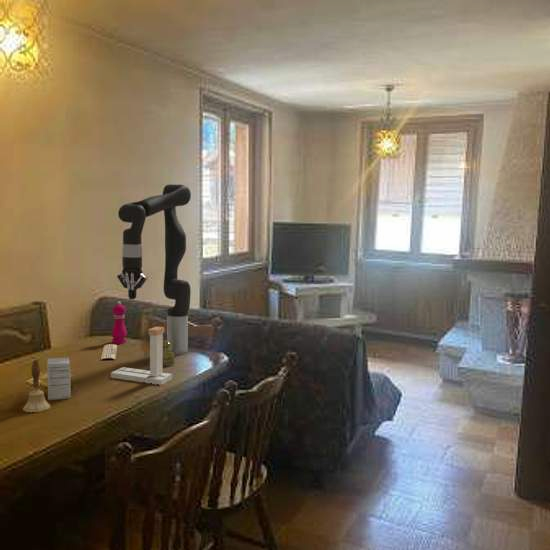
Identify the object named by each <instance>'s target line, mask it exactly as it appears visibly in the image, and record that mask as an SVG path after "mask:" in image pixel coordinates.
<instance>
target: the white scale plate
mask: <svg viewBox="0 0 550 550" xmlns="http://www.w3.org/2000/svg"><path fill="white" fill-rule="evenodd" d="M110 378H111V379H116V380H117V379H118V380H123V381H124V380H125V381H130V380H131V382H138V383H143V382H145V384H150V383H152V384H151V385H157V384H159V386H163V385H164V384H166V383H168V382H169V380H170V381H172V380H173V373H167V372H162V374H161V375H159V376H157V377H155V376H150V370H146V369H139V368H134V367H133V368H132V367H131V368H130V367H125V366H123V367H120V368H118V369H115V370H114V371H111V372H110ZM167 381H168V382H167ZM162 384H163V385H162Z"/></svg>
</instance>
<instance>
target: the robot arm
mask: <svg viewBox="0 0 550 550" xmlns="http://www.w3.org/2000/svg"><path fill="white" fill-rule="evenodd" d="M191 195H192V194H191V190H190V188H189V187H188V186H187V185H184V184H172V183H171V184H166V185H165V186H164V188H163V191H162V194H160V195H153V196H150V197H149V196H148V197H146V198H144V199H142V200H139V201H134V202H128V203H124V204H123V205H122V206H120V207H119V209H118V213H117V214H118V215H117V216H118V218H119V220H121V222H123V223H131V225H130V227H129V228H127V229H126V228H125V229H124V230H123V232H122V249H121V250H122V259H121V260H122V271H121V273H120V274H118V275H117V276H116V277H117V279H118V281H119V282H120V283H121V285H122V287H123V288H124V289H127V290H128V291H127V292H128V293H127V294H128V295H127V296H128V298H129V300H136V298H137V290H139V289H140V288H142V287H143V285H144V284H145V282H146V281H147V279H148V276H146V275H144V273H143V270H142V268H143V247H142V233H143V230H144V226H145V223H146V218H148V217H151V216H154V215H156V214H157V213H160V212H162V211H163V215H164V251H165V253H164V254H165V257H164V258H165V259H164V276H163V277H164V278H163V293H164V296H165V298H166V299H169V300H173V301H175V303H174V306H172V307H169V308H167V312H166V313H167V314H166V316H167V317H166V319H167V321H166V322H167V323H166V324H167V325H166V331H167V333H166V340H167V341H169V342H171V343H172V345H171V346H170V347H169V349H170V350H171V351H172V352H173V353H174V354H175V355H183V354H187V353H188V351H189V350H188V348H189V347H188V343H189V342H188V341H189V329H188V328H189V326H188V325H189V310H190V305H191V292H192V291H191V284H190V283H189V281H187V280H183V279H178V273H179V272H178V270H179V265H180V263H181V262H182V260H183V258H184V256H185V253H186V251H187V236H186V233H185V231H184V229H183V227H182V225H181V223H180V220H179V219H178V216H177V207H182V206H183V207H184V206H186V205H188V204H189V202H190V201H191V197H192V196H191Z"/></svg>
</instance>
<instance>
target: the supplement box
mask: <svg viewBox="0 0 550 550" xmlns="http://www.w3.org/2000/svg"><path fill="white" fill-rule="evenodd" d="M70 360H71V359H70V357H53V358H47V359H46V374H47V377H46V379H47V399H48V401H51V400H52V401H53V400H64V399H71V392H72V391H71V362H70Z"/></svg>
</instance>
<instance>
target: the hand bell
mask: <svg viewBox="0 0 550 550" xmlns="http://www.w3.org/2000/svg"><path fill="white" fill-rule="evenodd" d="M30 373H31V376H32V380H33V382H32V383H33V384H32V385H33V388H32V390H31V391H29V393H28V399H27V402H26V404H25V405H24V406H23V408H22V411H23V412H24V411H25V412H24V413H28V412H31V414H33V413H32V412H34V414H35V413H41V412H45V411H48V410H49V409H50V408H51V404H50V403H49V402H47V400H46V397H45V392H44V391H43V390H41V389H40V386H39V385H40V384H39V383H40V382H39V379H40V375H41V367H40V363H39V361H38V359H33V361H32V365H31V372H30Z"/></svg>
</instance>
